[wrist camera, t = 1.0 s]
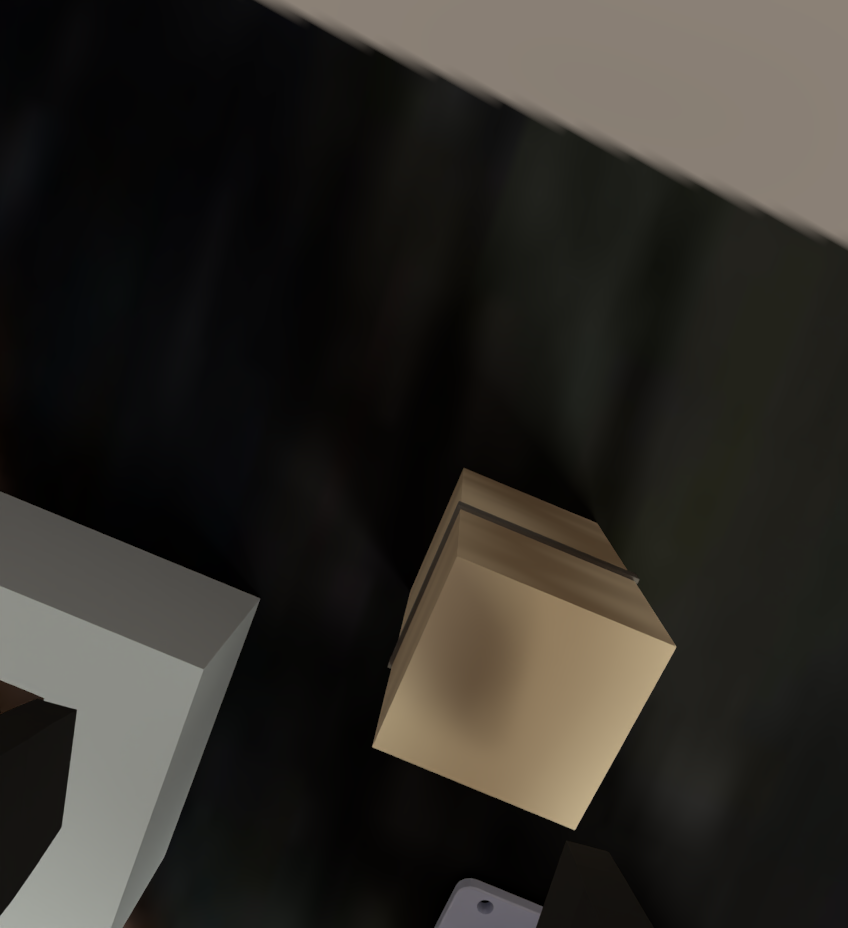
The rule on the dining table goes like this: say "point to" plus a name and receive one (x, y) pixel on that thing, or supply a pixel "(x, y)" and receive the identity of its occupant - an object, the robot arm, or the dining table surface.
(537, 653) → the peg
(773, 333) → the dining table surface
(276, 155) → the dining table surface
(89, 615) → the socket block
